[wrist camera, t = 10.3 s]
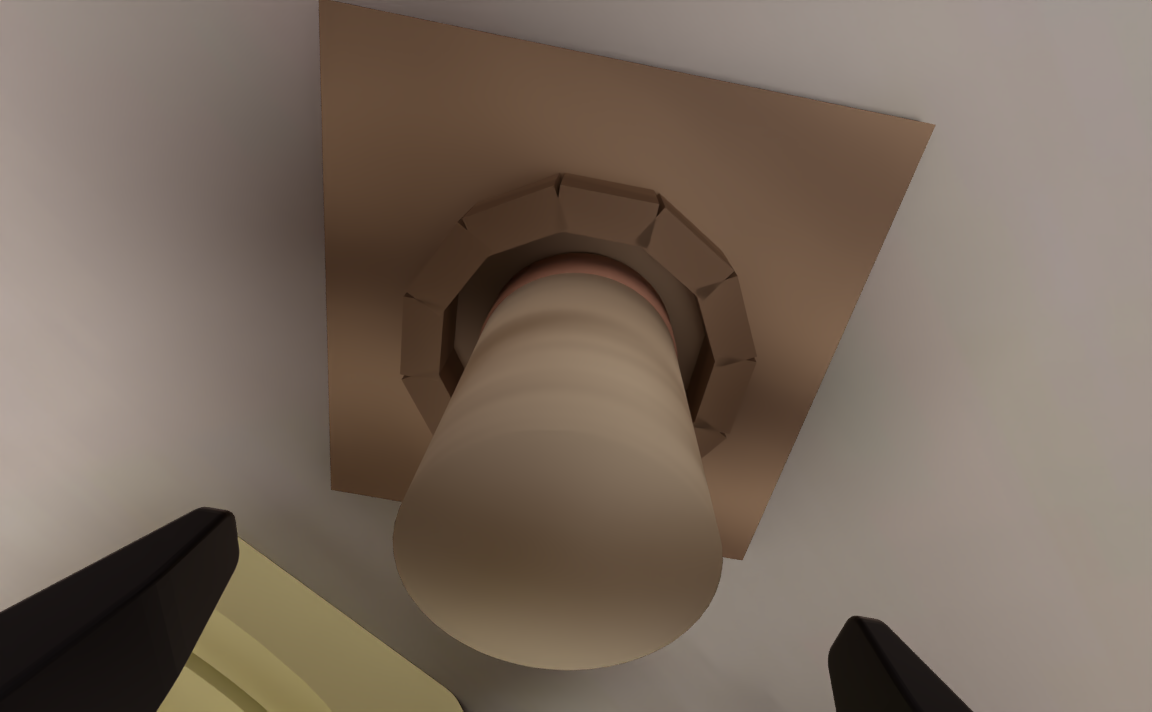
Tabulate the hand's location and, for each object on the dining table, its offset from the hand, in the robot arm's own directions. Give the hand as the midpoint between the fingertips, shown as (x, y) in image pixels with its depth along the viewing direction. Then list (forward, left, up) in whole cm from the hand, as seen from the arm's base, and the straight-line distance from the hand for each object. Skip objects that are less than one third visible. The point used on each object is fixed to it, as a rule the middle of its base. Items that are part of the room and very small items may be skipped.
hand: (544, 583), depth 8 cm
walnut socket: (0, 0, -9) cm, 9 cm away
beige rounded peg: (0, 0, -8) cm, 8 cm away
